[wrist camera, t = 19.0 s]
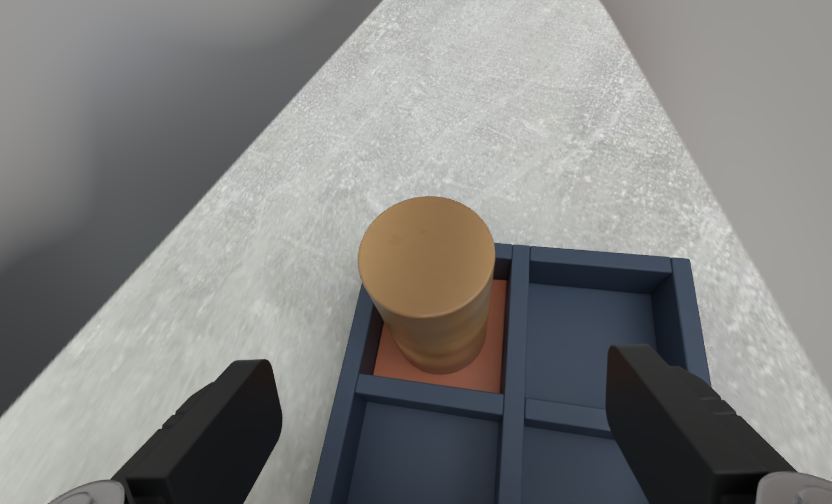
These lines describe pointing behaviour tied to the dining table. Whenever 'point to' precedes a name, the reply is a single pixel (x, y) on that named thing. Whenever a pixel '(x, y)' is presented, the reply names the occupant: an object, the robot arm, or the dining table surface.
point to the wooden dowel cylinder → (431, 280)
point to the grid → (509, 388)
